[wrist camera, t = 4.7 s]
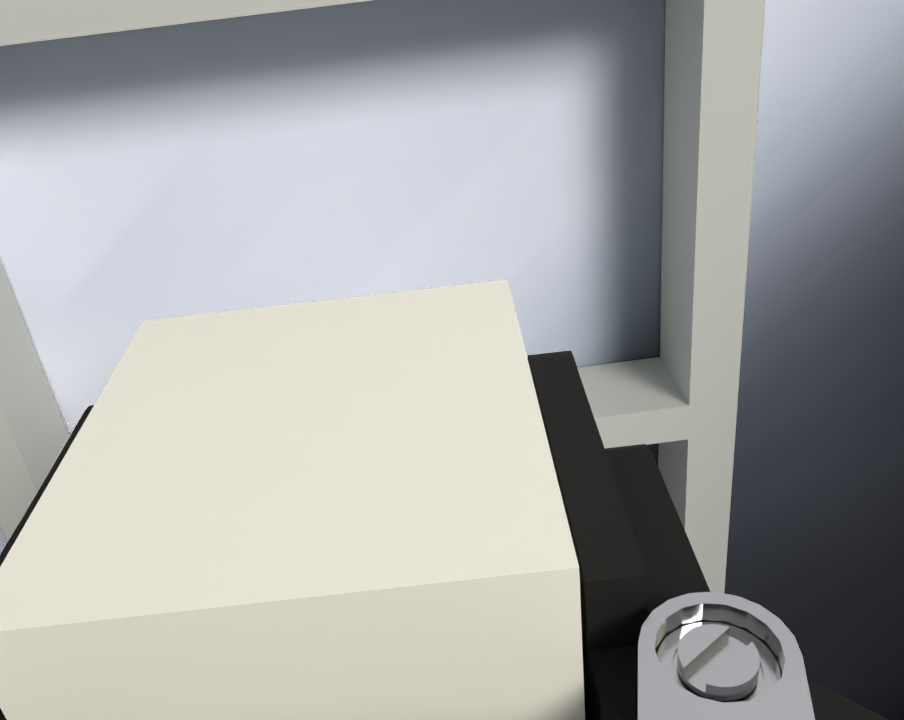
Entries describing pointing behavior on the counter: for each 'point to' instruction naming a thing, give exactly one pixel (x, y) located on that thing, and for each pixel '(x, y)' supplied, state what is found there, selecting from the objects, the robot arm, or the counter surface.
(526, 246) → the counter surface
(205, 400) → the cream matte cube
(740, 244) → the compartment tray
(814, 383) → the counter surface
